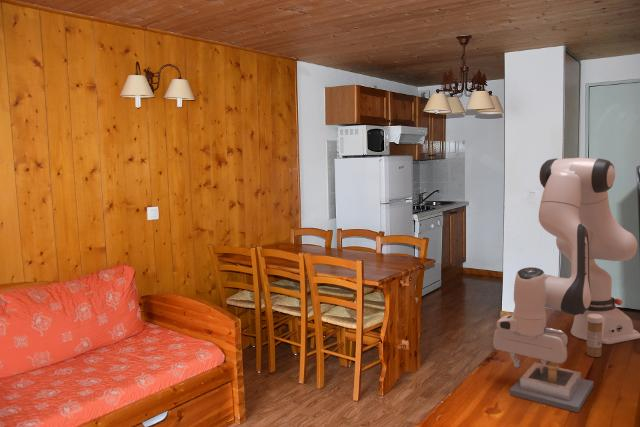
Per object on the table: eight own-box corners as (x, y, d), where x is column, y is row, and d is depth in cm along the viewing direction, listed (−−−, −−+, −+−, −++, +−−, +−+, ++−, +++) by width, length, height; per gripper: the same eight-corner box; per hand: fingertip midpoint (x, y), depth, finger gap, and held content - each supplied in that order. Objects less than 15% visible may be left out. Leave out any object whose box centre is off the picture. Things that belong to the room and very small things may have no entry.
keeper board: (529, 371, 166) (530, 347, 165) (593, 386, 155) (594, 360, 154) (509, 394, 152) (509, 368, 151) (578, 412, 141) (578, 384, 140)
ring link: (534, 371, 163) (534, 362, 162) (581, 382, 155) (581, 372, 154) (520, 388, 153) (520, 378, 152) (569, 400, 144) (569, 390, 144)
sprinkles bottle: (595, 351, 179) (596, 312, 177) (605, 356, 174) (606, 316, 172) (583, 352, 178) (584, 313, 176) (592, 358, 173) (593, 318, 172)
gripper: (570, 328, 151) (569, 374, 153) (499, 315, 164) (499, 358, 166) (564, 335, 146) (563, 382, 148) (491, 321, 159) (491, 365, 161)
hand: (528, 369), depth 157 cm, fingers open, 5 cm apart
